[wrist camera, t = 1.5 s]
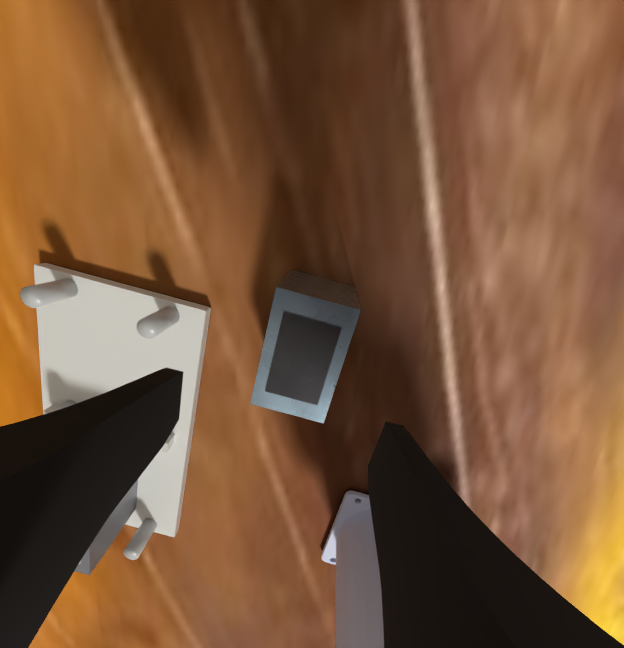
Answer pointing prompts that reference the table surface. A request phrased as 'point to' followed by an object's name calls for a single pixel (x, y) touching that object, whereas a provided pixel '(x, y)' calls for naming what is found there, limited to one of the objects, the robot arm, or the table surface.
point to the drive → (305, 345)
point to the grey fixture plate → (121, 379)
